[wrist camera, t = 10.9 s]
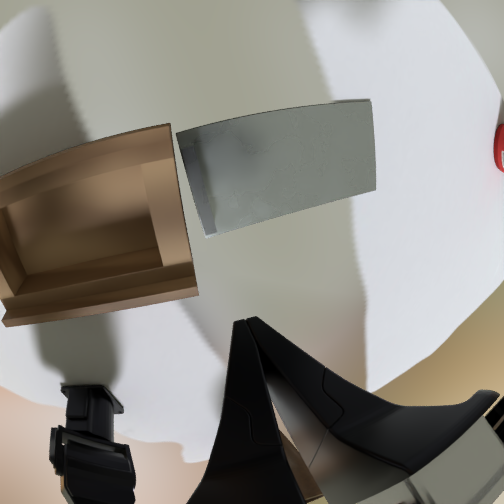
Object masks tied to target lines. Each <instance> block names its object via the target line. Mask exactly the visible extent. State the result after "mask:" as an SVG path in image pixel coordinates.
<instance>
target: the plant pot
mask: <svg viewBox="0 0 504 504" xmlns="http://www.w3.org/2000/svg"><path fill="white" fill-rule="evenodd" d="M279 432H280V436H281V439H282V443H283V447H284V450H285V454H286V457H287V460H288V463H289V465H290V467H291V470H292V472H293V474H294V477H295V479H296V481H297V483H298V486H299V488H300V490H301V492H302V494H303V496H304V499H305V501H306V503H309V502H311V501H314V500H316V499H319V498H321V497H323V496H324V495H323V493H322V492H321V490H320V488H319V487H318V485H317V483H316V481H315V480H314V478H313V476H312V474H311V473H310V471H309V468H308V467H307V465H306V464H305V462H304V460H303V458H302V456H301V455H300V453H299V452H298V450H297V449H296V448H295V447H294V446H293V444H292V443H291V442H290V441H289V440H288V439H287V438H286V436H284V434H283V433H282V432H281V431H280V430H279Z"/></svg>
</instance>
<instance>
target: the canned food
mask: <svg viewBox="0 0 504 504" xmlns="http://www.w3.org/2000/svg"><path fill="white" fill-rule="evenodd" d="M494 159H495V163H496V166H497V168H498V169H499V170H501V171H502V172H504V124H501V125H500V126H499V127H498V129H497V131H496V134H495V139H494Z"/></svg>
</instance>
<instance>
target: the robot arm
mask: <svg viewBox="0 0 504 504" xmlns="http://www.w3.org/2000/svg"><path fill="white" fill-rule="evenodd" d="M61 392H62V393H63V394H64V395H65V396H66V397H67V398H68V401H67V408H66V427H65V428H64V427H63V426H61V425H58V428H51V436H50V450H49V460H50V462H51V463H52V464H53V468H54V469H55V474H56V475H59V476H61V477H60V478H61V492H62V494H63V496H64V497H65V499H66V501H67V502H68V504H134V503H135V495H134V489H135V485H136V475H135V470H134V465H133V461H132V457H131V452H130V448H129V445H127V444H119V443H115V442H114V414H123V413H124V409H123V408H122V407H121V406H120V405H119V404H118V402H117V401H116V400H115V399H114V398H113V397H112V395H111V394H110V393H109V392H108V391H107V389H106V388H105V387H104V386H102V385H92V386H74V387H61ZM499 396H500V394H499V393H497V392H495V391H491V390H478V391H477V392H476V393H475V394H474V395H473V396H472V397H471V398H470V399H468V400H467V401H465V402H463V403H460V404H456V405H444V406H402V405H397V404H393V403H391V402H388V401H386V400H384V399H382V398H379V397H378V396H376V395H373V394H372V393H369V392H367V391H365V390H363V389H361V388H359V387H358V386H356V385H354V384H352V383H350V382H348V381H347V380H345V379H343V378H342V377H340V376H339V375H337V374H336V373H334V372H333V371H331V370H330V369H328V368H327V367H326V368H325V366H324V365H322V364H321V363H320V362H318V361H317V360H315V359H314V358H313V357H311V356H310V355H308V354H307V353H306V352H304V351H303V350H302V349H300V348H299V347H297V346H296V345H295V344H293V343H292V342H291V341H289V340H288V339H286V338H285V337H284V336H282V335H281V334H280V333H278V332H277V331H276V330H274V329H273V328H272V327H270V326H269V325H268V324H266V323H265V322H264V321H262V320H261V319H260V318H258V317H256V316H255V317H251V318H247V319H246V320H244V319H242V320H238V321H234V323H233V330H232V337H231V345H230V353H229V361H228V368H227V376H226V384H225V392H224V399H223V407H222V413H221V419H220V423H219V427H218V431H217V435H216V439H215V442H214V445H213V449H212V452H211V455H210V459H209V462H208V465H207V468H206V471H205V473H204V476H203V478H202V480H201V482H200V483H199V485H198V487H197V488H196V490H195V491H194V493H193V494H192V496H191V498H190V499H189V500H188V502H187V503H186V504H307V503H306V501H305V499H304V496H303V494H302V492H301V490H300V488H299V486H298V483H297V481H296V479H295V477H294V474H293V472H292V470H291V467H290V465H289V463H288V460H287V457H286V454H285V450H284V447H283V443H282V439H281V436H280V432H279V428H278V424H277V421H276V417H275V413H274V409H273V405H272V402H273V404H274V405H275V408H276V409H277V411H278V413H279V415H280V417H281V419H282V421H283V423H284V425H285V427H286V428H287V431H288V432H289V434H290V436H291V438H292V440H293V442H294V444H295V445H296V447H297V449H298V451H299V453H300V455H301V456H302V458H303V460H304V462H305V464H306V465H307V467H308V468H309V471H310V473H311V474H312V476H313V478H314V480H315V481H316V483H317V485H318V487H319V488H320V490H321V492H322V493H323V495H324V497H325V498H326V500H327V502H328V503H329V504H356V503H357V504H492V503H493V502H494V501H495V500H496V499H497V498H498V497H499V495H500V494H501V493H502V492H503V491H504V396H503V397H502V398H501V399H500V400H499V402H498V403H497V404H496V405H495V406H494V407H493V408H492V409H491V410H490V411H489V412H488V413H487V414H486V416H485V417H484V416H483V414H484V413H485V412H486V411H487V410H488V408H490V406H491V405H492V404H493V403H494V402H495V401H496V400H497V398H498V397H499ZM271 400H272V402H271ZM62 443H64V444H65V445H62Z"/></svg>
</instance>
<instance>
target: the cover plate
mask: <svg viewBox="0 0 504 504" xmlns="http://www.w3.org/2000/svg"><path fill="white" fill-rule="evenodd" d="M176 137H177V141H178V144H179V148H180V152H181V156H182V159H183V163H184V167H185V170H186V174H187V178H188V181H189V185H190V188H191V192H192V195H193V199H194V202H195V205H196V209H197V212H198V216H199V219H200V222H201V225H202V229H203V232H204V235H205V238H209V237H212V236H215V235H218V234H221V233H225V232H228V231H231V230H235V229H238V228H242V227H245V226H248V225H252V224H255V223H258V222H262V221H265V220H269V219H272V218H276V217H279V216H282V215H286V214H289V213H293V212H297V211H300V210H304V209H307V208H311V207H315V206H318V205H322V204H325V203H329V202H333V201H336V200H340V199H344V198H348V197H351V196H355V195H359V194H363V193H367V192H370V191H374V190H376V161H375V140H374V126H373V114H372V105H371V102H370V101H368V102H348V103H328V104H318V105H309V106H301V107H293V108H286V109H280V110H274V111H267V112H262V113H256V114H251V115H246V116H241V117H236V118H232V119H227V120H223V121H219V122H215V123H210V124H207V125H203V126H199V127H195V128H191V129H188V130H184V131H181V132H177V133H176Z"/></svg>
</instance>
